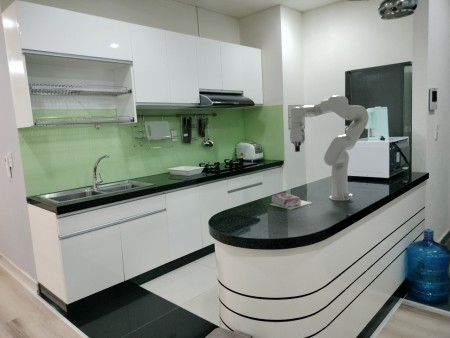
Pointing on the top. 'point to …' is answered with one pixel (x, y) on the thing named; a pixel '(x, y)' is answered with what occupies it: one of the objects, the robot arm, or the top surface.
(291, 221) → the top surface
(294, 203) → the candy bar box
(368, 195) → the top surface
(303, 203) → the mat
